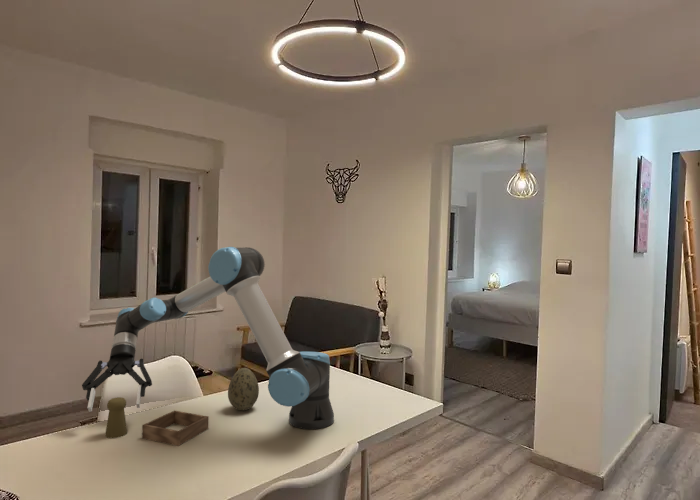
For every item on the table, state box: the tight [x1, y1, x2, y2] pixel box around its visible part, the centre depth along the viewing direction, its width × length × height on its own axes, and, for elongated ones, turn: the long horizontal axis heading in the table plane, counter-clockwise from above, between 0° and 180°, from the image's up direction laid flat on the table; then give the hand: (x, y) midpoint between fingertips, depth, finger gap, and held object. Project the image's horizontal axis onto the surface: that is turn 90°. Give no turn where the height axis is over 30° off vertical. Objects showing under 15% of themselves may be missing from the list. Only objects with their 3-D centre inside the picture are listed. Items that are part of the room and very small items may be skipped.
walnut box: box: [141, 409, 209, 447], centre depth 142 cm, size 14×14×4 cm
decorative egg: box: [227, 367, 260, 411], centre depth 164 cm, size 11×11×15 cm
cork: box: [104, 396, 128, 439], centre depth 140 cm, size 6×6×11 cm
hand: (114, 407), depth 142 cm, fingers open, 13 cm apart
